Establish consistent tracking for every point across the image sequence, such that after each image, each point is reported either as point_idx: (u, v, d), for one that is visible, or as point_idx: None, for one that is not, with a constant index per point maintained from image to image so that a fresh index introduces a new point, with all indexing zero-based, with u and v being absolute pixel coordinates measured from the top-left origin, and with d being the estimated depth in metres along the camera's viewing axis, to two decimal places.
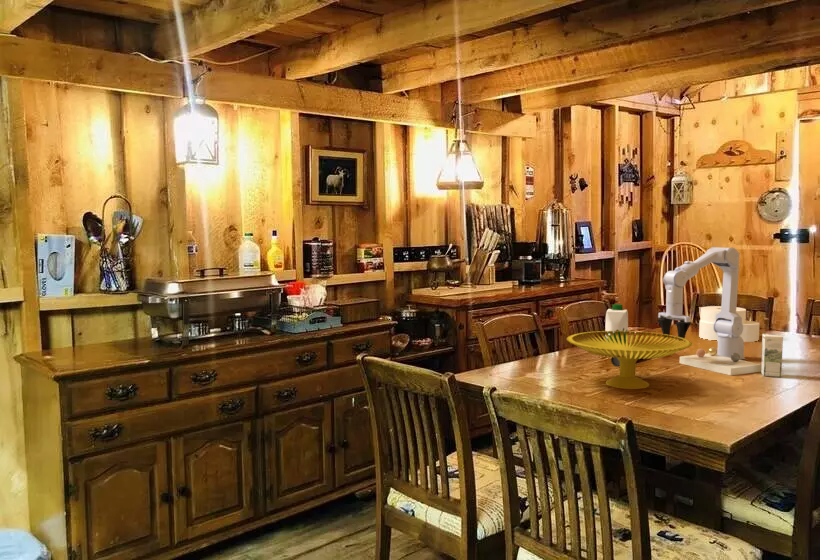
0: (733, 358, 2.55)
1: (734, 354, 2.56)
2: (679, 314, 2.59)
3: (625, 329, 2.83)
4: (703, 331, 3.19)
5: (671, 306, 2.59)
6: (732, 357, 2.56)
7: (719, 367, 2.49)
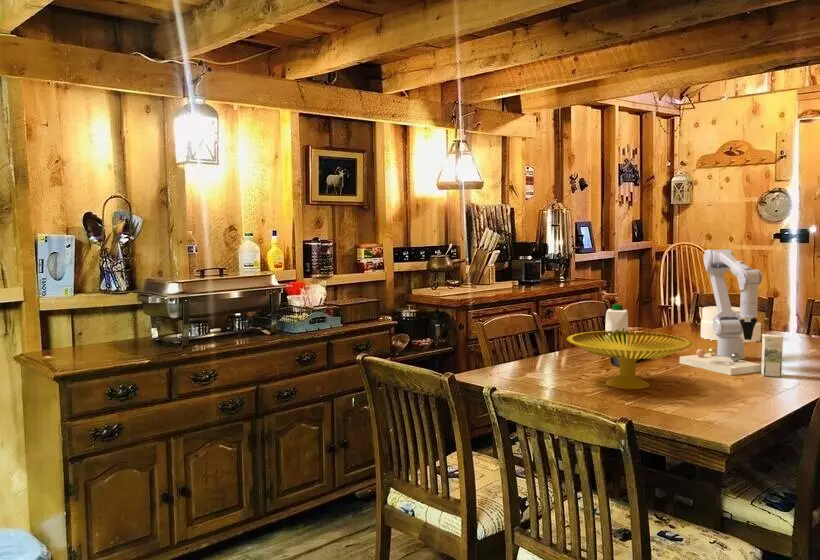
0: (733, 358, 2.55)
1: (734, 354, 2.56)
2: (747, 314, 2.55)
3: (625, 329, 2.83)
4: (704, 331, 3.19)
5: (741, 305, 2.57)
6: (732, 357, 2.56)
7: (719, 367, 2.49)
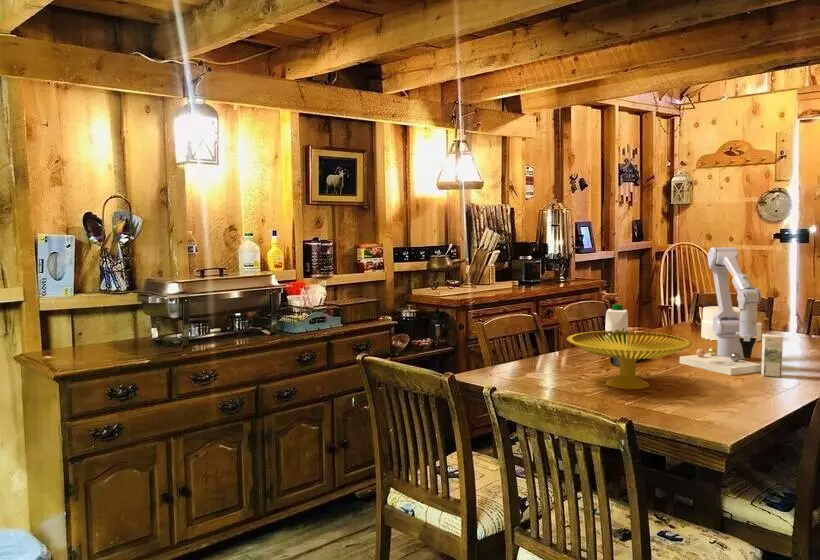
0: (733, 358, 2.55)
1: (734, 354, 2.56)
2: (747, 333, 2.56)
3: (625, 329, 2.83)
4: (705, 331, 3.19)
5: (740, 324, 2.58)
6: (732, 357, 2.56)
7: (719, 367, 2.49)
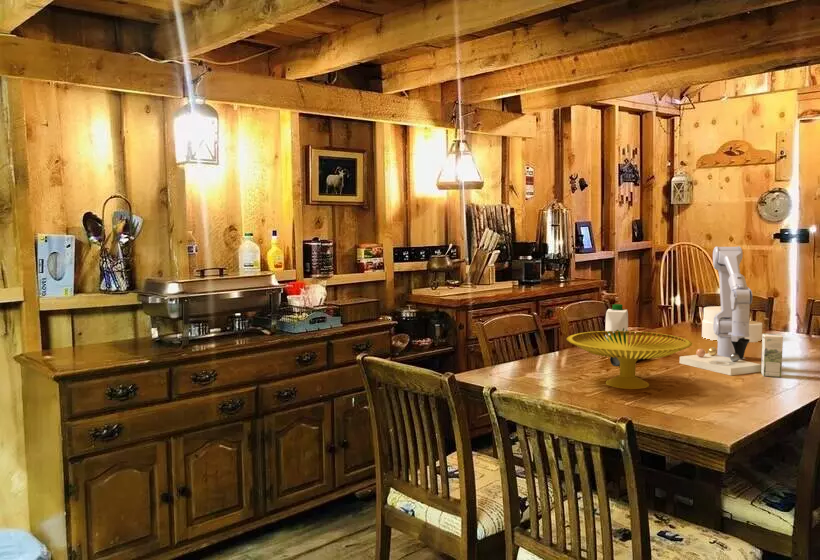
0: (732, 359, 2.55)
1: (733, 355, 2.55)
2: (737, 333, 2.54)
3: (625, 329, 2.83)
4: (705, 331, 3.19)
5: (732, 324, 2.57)
6: (731, 358, 2.56)
7: (719, 367, 2.49)
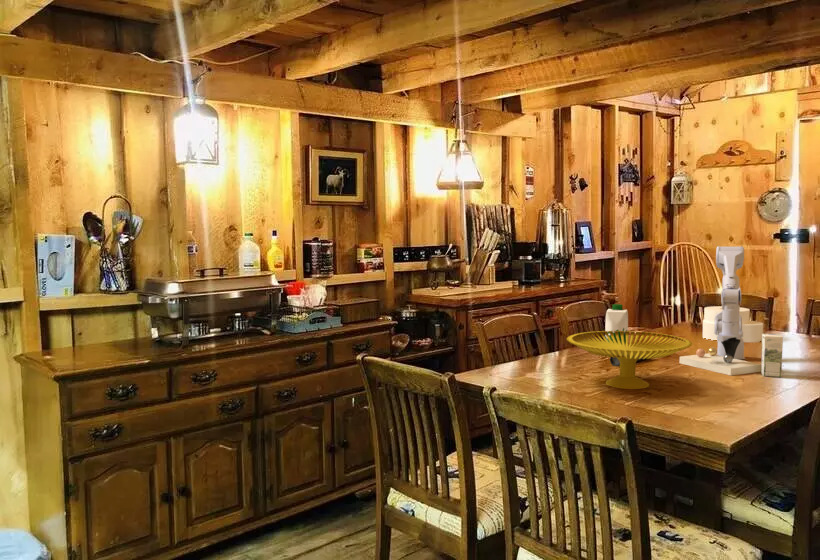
0: None
1: (728, 362, 2.54)
2: (726, 333, 2.53)
3: (625, 329, 2.83)
4: (706, 332, 3.19)
5: (722, 324, 2.55)
6: None
7: (719, 367, 2.49)
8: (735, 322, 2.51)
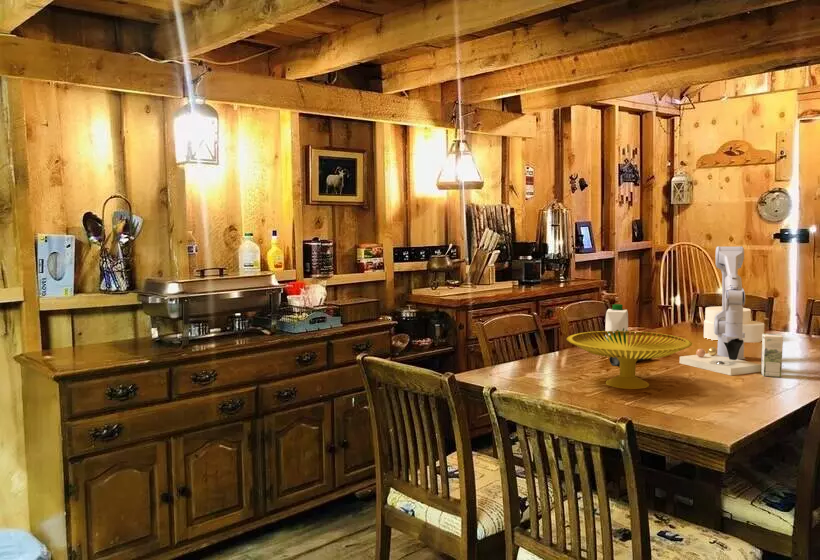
0: None
1: None
2: (729, 334, 2.53)
3: (625, 329, 2.83)
4: (707, 332, 3.18)
5: (725, 325, 2.56)
6: None
7: (719, 367, 2.49)
8: (739, 323, 2.52)
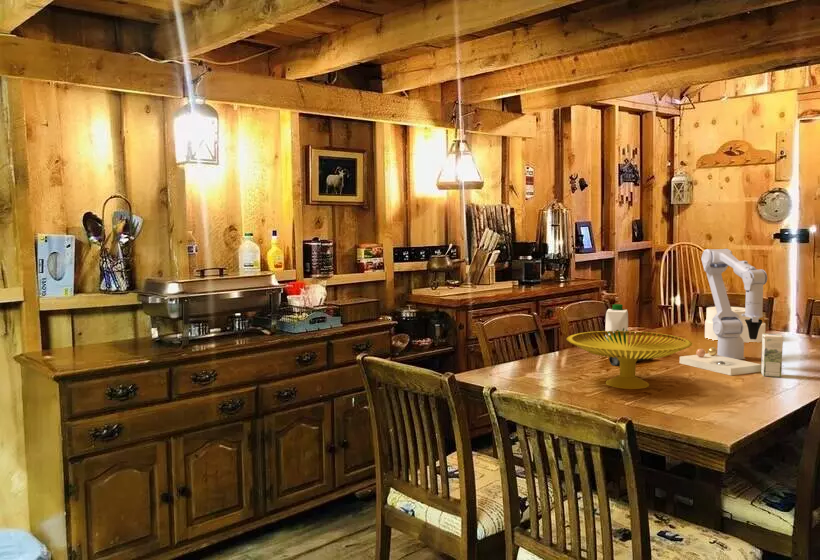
0: None
1: None
2: (754, 314, 2.54)
3: (625, 329, 2.83)
4: (708, 332, 3.18)
5: (746, 305, 2.57)
6: None
7: (719, 367, 2.49)
8: (761, 302, 2.55)
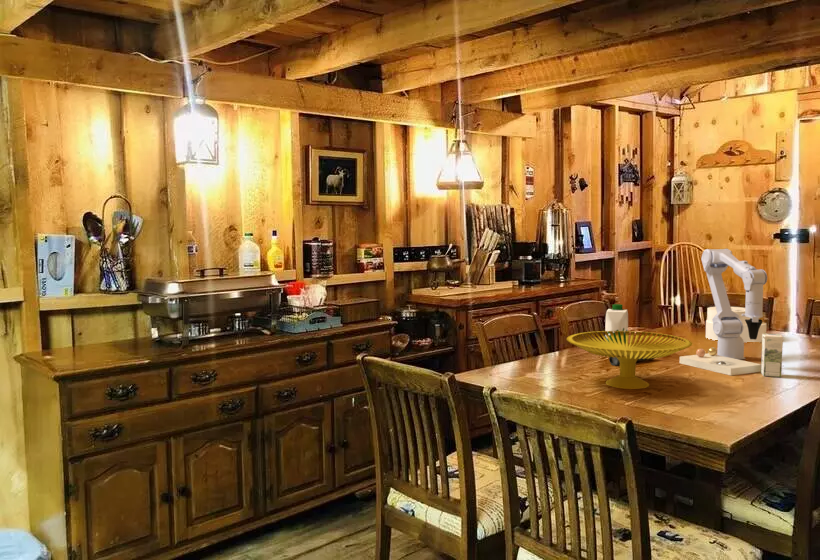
0: None
1: None
2: (754, 314, 2.54)
3: (625, 329, 2.83)
4: (709, 332, 3.18)
5: (746, 305, 2.57)
6: None
7: (719, 367, 2.49)
8: (761, 302, 2.55)
